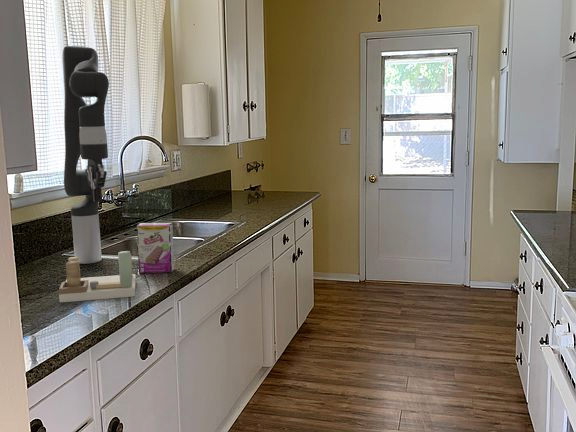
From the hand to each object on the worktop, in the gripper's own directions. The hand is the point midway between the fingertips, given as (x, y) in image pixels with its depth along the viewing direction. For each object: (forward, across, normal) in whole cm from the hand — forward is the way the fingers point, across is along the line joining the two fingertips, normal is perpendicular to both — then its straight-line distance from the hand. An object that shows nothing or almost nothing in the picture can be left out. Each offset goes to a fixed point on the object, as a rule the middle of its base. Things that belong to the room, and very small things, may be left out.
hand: (97, 201), depth 171 cm
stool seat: (+27, -2, +2) cm, 27 cm away
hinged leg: (+24, -8, 0) cm, 26 cm away
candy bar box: (+27, +9, -21) cm, 35 cm away
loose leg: (+25, -3, +10) cm, 27 cm away
